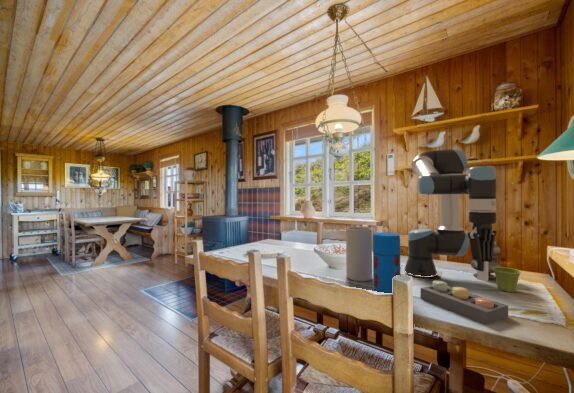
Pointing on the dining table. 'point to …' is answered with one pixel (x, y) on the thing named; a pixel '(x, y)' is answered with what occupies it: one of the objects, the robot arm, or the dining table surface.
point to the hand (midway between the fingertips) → (482, 279)
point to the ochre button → (460, 293)
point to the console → (465, 305)
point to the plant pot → (506, 278)
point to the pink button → (484, 303)
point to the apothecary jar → (490, 263)
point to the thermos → (385, 260)
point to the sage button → (440, 286)
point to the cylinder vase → (359, 253)
